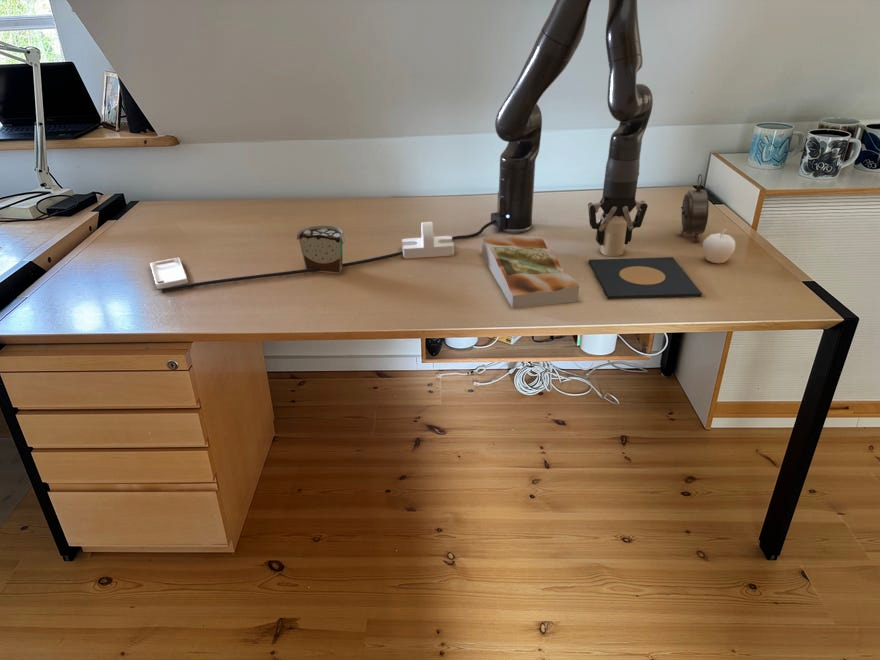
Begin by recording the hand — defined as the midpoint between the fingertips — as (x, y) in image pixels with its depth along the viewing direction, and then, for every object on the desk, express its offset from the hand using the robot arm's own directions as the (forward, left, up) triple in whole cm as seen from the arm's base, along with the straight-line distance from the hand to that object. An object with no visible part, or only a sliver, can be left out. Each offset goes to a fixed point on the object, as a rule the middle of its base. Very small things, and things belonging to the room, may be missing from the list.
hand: (612, 243), depth 166 cm
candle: (0, 0, -2) cm, 2 cm away
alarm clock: (+22, +9, -2) cm, 24 cm away
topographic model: (-23, -13, -2) cm, 27 cm away
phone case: (-111, -6, -2) cm, 111 cm away
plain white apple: (+23, -7, -2) cm, 24 cm away
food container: (-71, -4, -2) cm, 71 cm away
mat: (+3, -16, -2) cm, 16 cm away
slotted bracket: (-46, +4, -2) cm, 46 cm away
